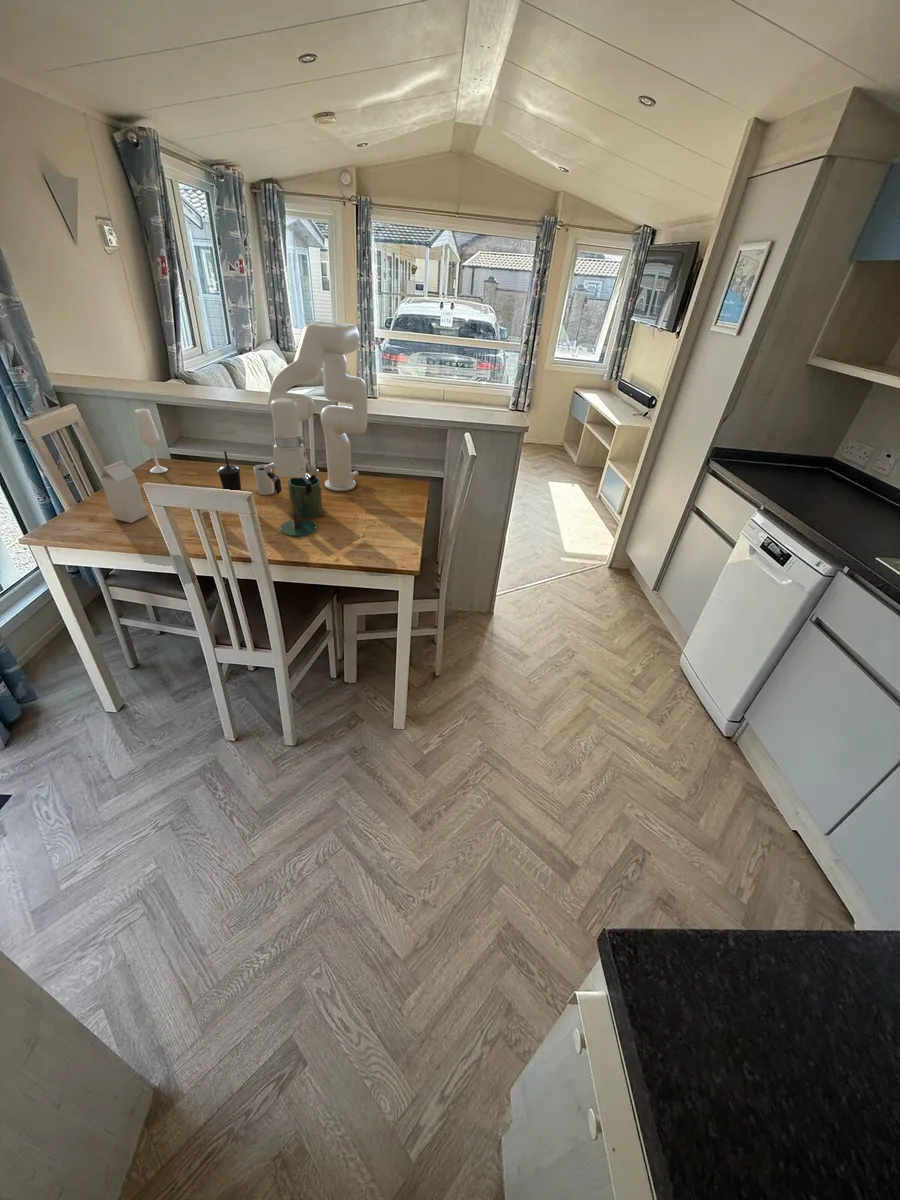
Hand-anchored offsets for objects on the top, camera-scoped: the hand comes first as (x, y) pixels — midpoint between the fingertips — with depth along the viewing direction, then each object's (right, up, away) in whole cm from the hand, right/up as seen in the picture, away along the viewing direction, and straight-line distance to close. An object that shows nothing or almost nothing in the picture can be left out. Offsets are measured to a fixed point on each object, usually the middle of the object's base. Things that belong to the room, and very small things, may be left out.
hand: (293, 493), depth 166 cm
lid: (-1, -11, +7) cm, 13 cm away
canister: (-1, -3, +19) cm, 19 cm away
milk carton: (-59, -7, +7) cm, 59 cm away
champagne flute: (-69, +18, +42) cm, 83 cm away
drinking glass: (-21, +7, +32) cm, 38 cm away
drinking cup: (-28, 0, +21) cm, 35 cm away
